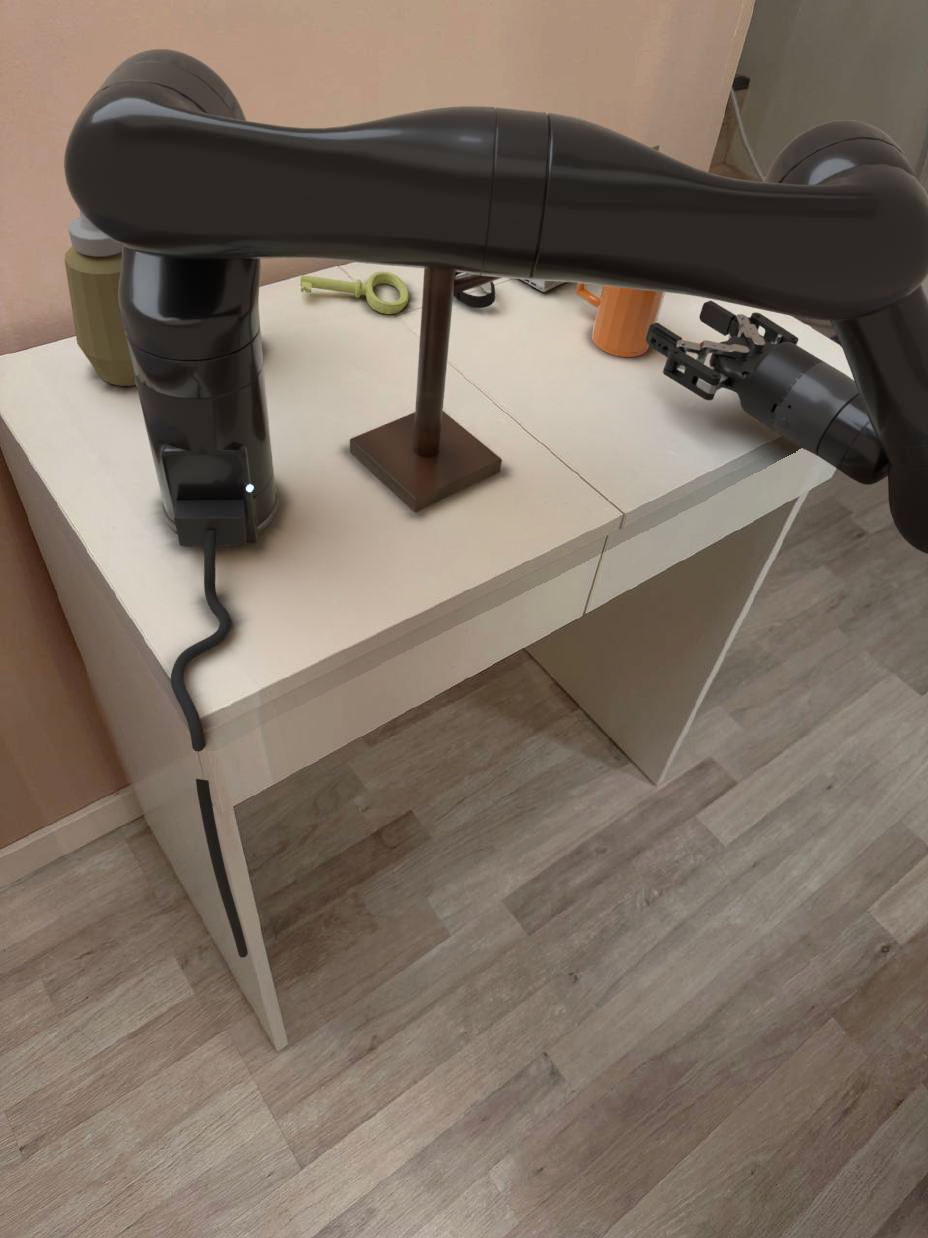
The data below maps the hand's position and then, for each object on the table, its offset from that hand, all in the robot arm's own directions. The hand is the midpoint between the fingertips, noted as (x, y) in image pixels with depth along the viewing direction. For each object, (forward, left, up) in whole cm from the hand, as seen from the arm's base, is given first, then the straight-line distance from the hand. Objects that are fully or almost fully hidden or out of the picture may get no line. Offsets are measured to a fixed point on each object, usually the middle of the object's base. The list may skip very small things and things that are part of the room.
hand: (677, 320), depth 90 cm
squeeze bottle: (-2, +55, -6) cm, 56 cm away
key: (+13, +32, -6) cm, 36 cm away
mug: (+7, +5, -6) cm, 10 cm away
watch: (+14, +19, -6) cm, 25 cm away
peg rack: (-14, +25, -6) cm, 29 cm away
